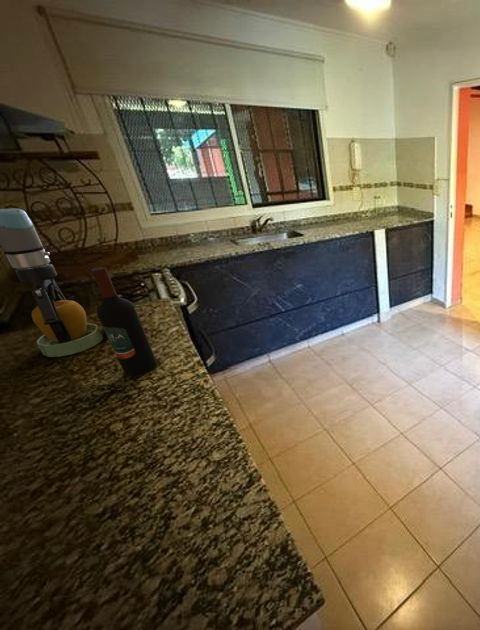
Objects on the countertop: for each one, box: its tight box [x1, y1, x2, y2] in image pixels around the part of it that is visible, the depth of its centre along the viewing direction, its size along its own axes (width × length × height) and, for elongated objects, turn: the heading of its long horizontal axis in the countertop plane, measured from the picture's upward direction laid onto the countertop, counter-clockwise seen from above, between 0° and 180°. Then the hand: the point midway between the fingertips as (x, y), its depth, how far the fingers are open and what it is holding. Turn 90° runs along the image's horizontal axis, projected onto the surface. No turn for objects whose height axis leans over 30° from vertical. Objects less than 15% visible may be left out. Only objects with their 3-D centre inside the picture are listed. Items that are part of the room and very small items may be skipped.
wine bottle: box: [90, 266, 159, 377], centre depth 90 cm, size 8×8×30 cm
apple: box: [31, 299, 88, 344], centre depth 104 cm, size 11×11×13 cm
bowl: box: [36, 323, 104, 358], centre depth 107 cm, size 14×14×4 cm
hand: (68, 333), depth 106 cm, fingers closed on apple, 11 cm apart
